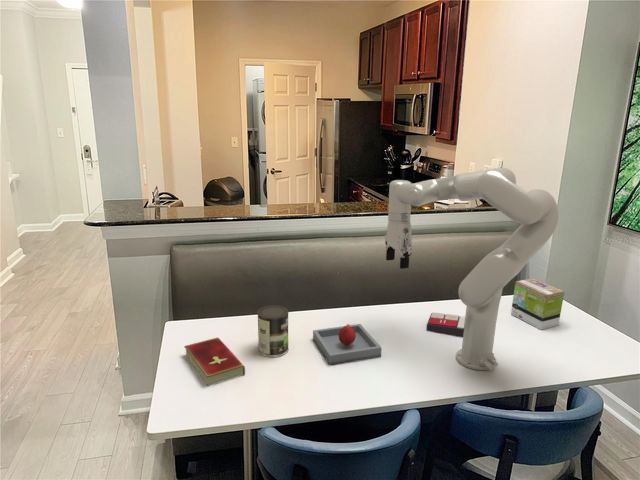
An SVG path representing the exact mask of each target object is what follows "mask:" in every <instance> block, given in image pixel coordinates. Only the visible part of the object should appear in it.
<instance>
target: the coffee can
mask: <svg viewBox="0 0 640 480" xmlns="http://www.w3.org/2000/svg"><path fill="white" fill-rule="evenodd" d="M256 312H257V313H256V314H257V335H258V336H257V338H258V339H257V340H258V341H257V342H258V353H259V354H260V355H261V356H263V357H267V358H279V357H283V356H285V355H286V354H287V353H288V352H289V309H288V308H287V307H284V306H282V305H267V306H263V307H261V308H259V309H258V310H257V311H256Z"/></svg>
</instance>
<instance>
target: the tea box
mask: <svg viewBox="0 0 640 480" xmlns="http://www.w3.org/2000/svg"><path fill="white" fill-rule="evenodd" d="M564 295H565V290H562V289H560V288H558V287H556V286H553V285H550V284H548V283H546V282H543V281H541V280H539V279H537V278H535V277H532V278H528V279H527V278H526V279H522V280H516V281H515V283H514V290H513V296H512V304H511V309H510V311H511V312H510V315H512V316H514V317H516V318H518V319H520V320H521V321H523V322H526V323H527V324H529V325H531V326H532V327H534V328H537V329H538V330H540V331H543V330H546V329H550V328H553V327H557V326H559V323H560V318H561V314H562V313H561V312H562V307H563V302H564Z"/></svg>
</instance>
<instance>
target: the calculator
mask: <svg viewBox="0 0 640 480" xmlns="http://www.w3.org/2000/svg"><path fill="white" fill-rule="evenodd" d="M464 323H465V315H464V316H463V315H458V314H450V313H447V314H445V313H443V312H441V313H440V312H434V311H433V312H431V313H430V315H429V318H428V321H427V323H426V331H427V332H431V333H432V332H433V333H437V334H443V335H448V336H455V337H460V338H463V332H464Z"/></svg>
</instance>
